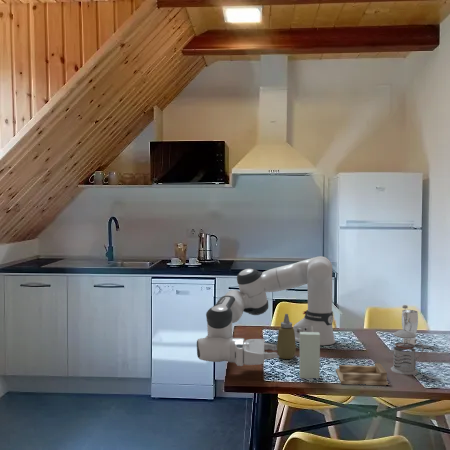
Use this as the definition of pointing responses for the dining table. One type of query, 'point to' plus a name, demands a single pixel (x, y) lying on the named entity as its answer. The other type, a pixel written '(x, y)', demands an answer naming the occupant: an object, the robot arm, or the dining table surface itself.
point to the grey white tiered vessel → (405, 353)
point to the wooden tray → (362, 374)
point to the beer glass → (410, 324)
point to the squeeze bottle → (286, 340)
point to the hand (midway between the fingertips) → (277, 351)
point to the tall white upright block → (309, 355)
